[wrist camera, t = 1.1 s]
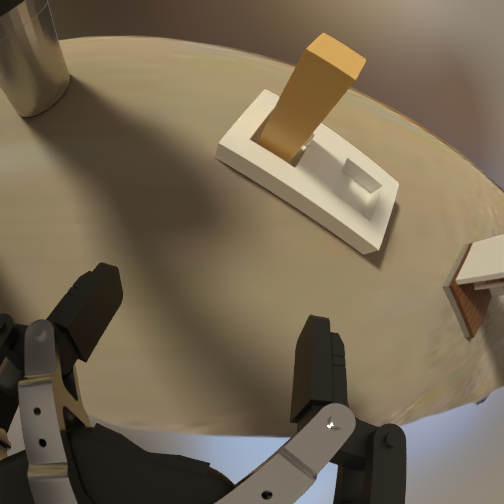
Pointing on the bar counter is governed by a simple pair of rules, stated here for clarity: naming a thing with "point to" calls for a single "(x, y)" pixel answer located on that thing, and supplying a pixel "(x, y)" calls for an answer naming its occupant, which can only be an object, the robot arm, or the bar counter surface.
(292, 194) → the white socket board
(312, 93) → the plug
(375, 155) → the bar counter surface
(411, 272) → the bar counter surface
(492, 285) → the white tower
